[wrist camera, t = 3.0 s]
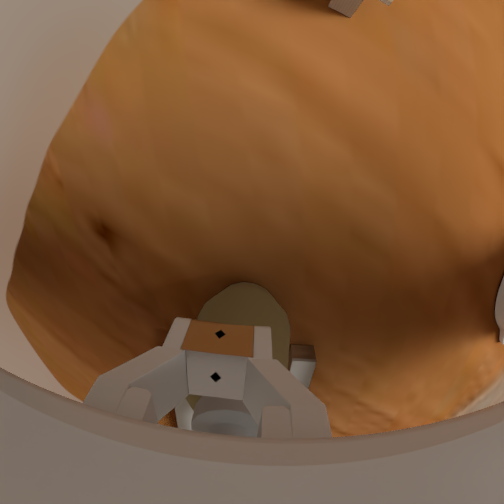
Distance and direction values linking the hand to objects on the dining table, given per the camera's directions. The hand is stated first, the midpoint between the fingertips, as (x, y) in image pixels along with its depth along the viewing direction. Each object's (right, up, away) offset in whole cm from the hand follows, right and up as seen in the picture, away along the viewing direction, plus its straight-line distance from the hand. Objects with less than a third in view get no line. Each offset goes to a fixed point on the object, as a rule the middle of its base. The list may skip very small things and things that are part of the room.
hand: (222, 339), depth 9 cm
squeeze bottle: (0, -3, +19) cm, 19 cm away
